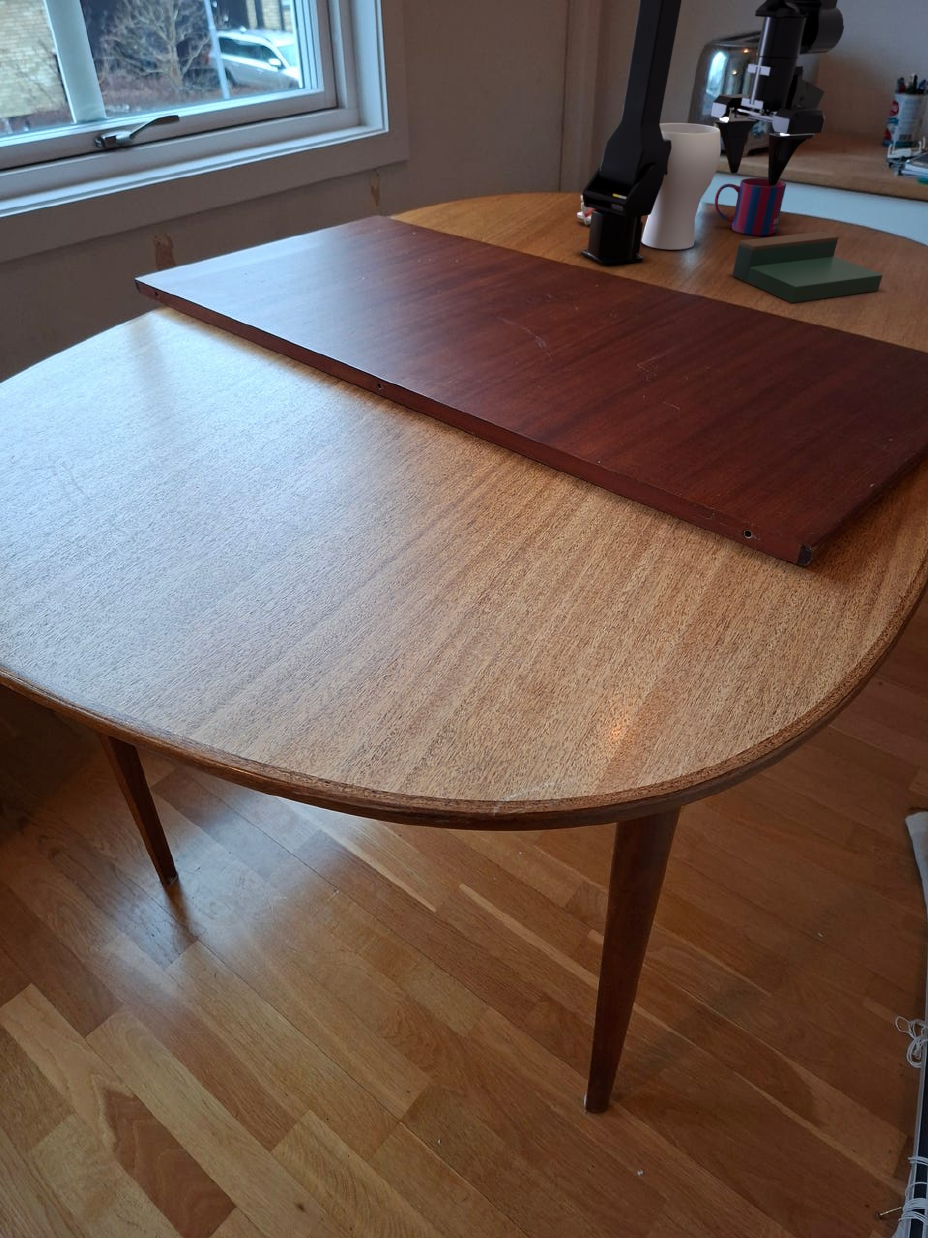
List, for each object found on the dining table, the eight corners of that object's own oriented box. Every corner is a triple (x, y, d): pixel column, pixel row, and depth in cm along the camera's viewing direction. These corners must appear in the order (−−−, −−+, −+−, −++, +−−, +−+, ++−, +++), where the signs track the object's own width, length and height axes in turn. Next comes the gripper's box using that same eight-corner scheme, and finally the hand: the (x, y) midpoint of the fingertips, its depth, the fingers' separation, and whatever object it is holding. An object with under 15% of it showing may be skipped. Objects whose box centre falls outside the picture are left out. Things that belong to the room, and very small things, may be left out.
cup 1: (617, 241, 126) (630, 126, 117) (660, 230, 132) (676, 119, 123) (675, 257, 120) (694, 137, 111) (718, 244, 126) (739, 129, 117)
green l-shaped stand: (791, 303, 105) (800, 265, 102) (732, 275, 114) (739, 240, 111) (878, 290, 109) (889, 254, 107) (814, 265, 118) (823, 230, 115)
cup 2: (773, 237, 130) (784, 188, 125) (707, 230, 132) (716, 182, 128) (777, 227, 135) (787, 179, 130) (713, 220, 137) (721, 174, 133)
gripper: (870, 61, 115) (837, 187, 125) (779, 49, 129) (756, 164, 138) (804, 63, 112) (776, 193, 121) (719, 50, 125) (699, 168, 135)
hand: (752, 178), depth 129 cm, fingers open, 9 cm apart
